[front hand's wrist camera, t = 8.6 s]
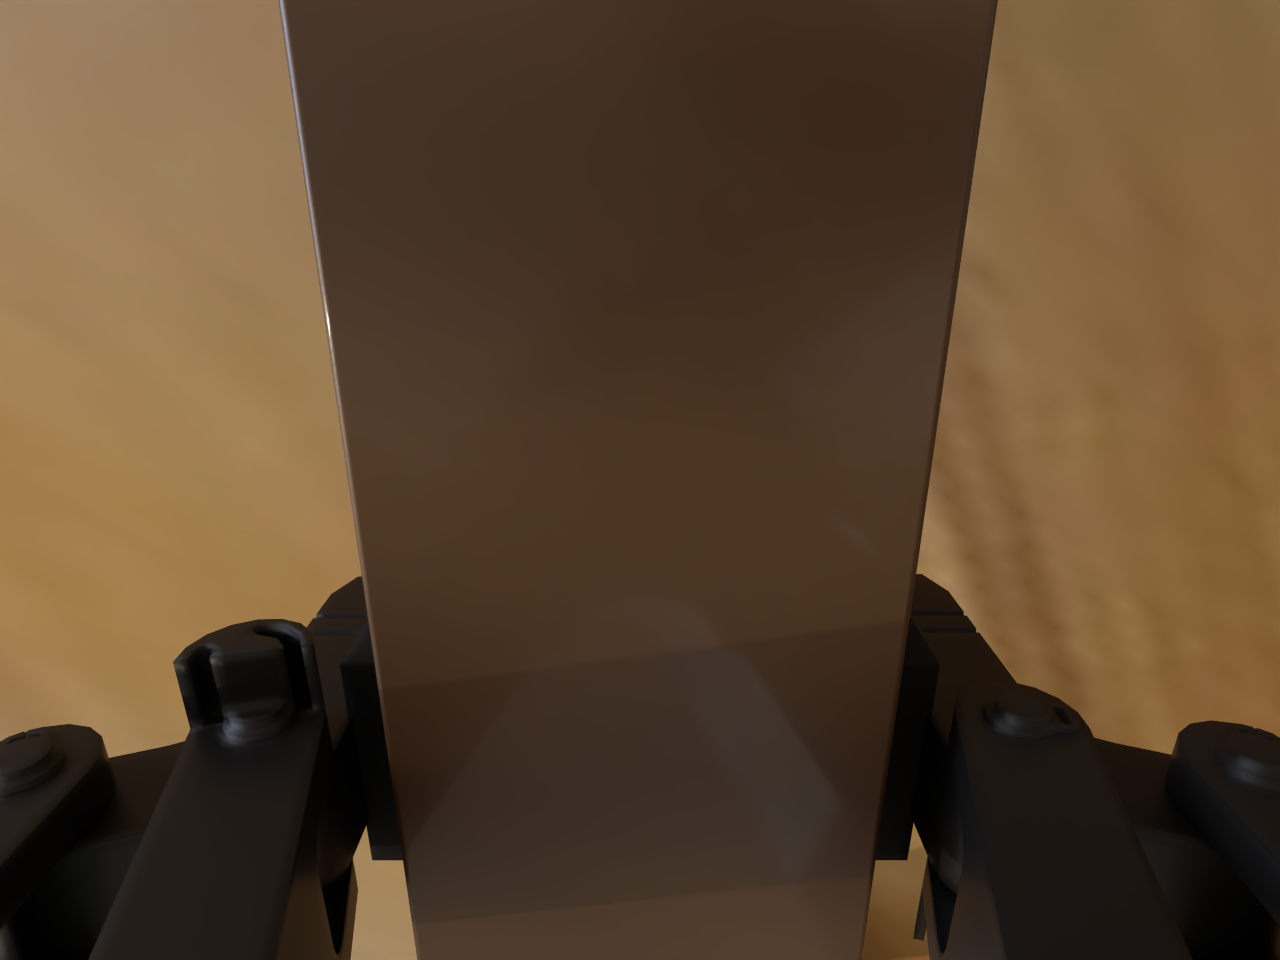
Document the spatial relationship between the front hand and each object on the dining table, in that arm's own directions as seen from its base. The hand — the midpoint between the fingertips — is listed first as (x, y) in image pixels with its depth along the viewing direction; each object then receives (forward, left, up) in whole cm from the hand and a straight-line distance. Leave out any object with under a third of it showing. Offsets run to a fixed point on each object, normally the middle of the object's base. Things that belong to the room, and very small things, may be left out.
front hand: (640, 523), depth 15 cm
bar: (+3, -28, -1) cm, 28 cm away
